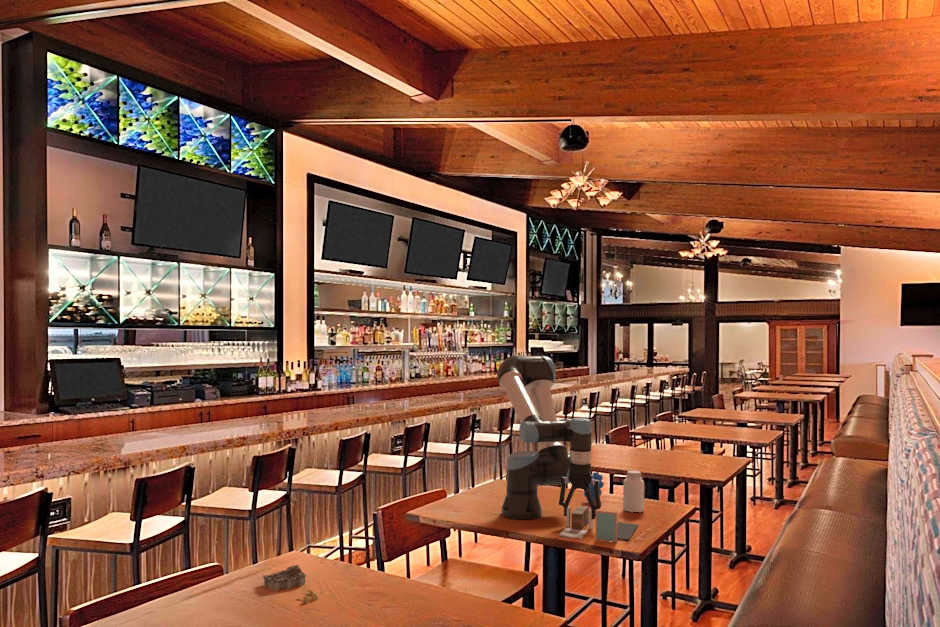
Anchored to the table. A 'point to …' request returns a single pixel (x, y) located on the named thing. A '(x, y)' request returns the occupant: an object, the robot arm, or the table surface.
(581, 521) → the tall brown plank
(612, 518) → the tile
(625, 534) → the mat
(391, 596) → the table surface
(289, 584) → the grey textured block
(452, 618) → the table surface
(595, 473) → the grapes
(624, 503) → the pill bottle
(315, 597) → the olive irregular clump
